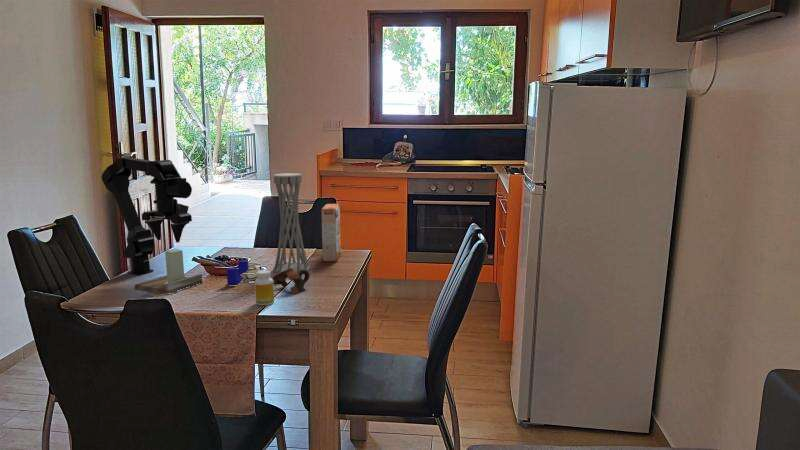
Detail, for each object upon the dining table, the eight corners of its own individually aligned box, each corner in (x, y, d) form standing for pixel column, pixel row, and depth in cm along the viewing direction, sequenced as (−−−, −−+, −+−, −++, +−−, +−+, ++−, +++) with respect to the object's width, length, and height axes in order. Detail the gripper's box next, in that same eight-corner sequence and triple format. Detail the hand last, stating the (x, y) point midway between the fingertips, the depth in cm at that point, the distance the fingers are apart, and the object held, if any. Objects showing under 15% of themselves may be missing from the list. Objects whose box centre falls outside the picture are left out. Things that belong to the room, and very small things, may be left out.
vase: (299, 275, 209) (294, 176, 203) (266, 272, 214) (260, 175, 207) (316, 266, 222) (313, 173, 216) (285, 264, 226) (280, 172, 220)
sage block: (167, 283, 196) (164, 250, 194) (179, 280, 199) (176, 248, 197) (173, 285, 194) (170, 252, 192) (184, 282, 196) (182, 250, 195)
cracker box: (337, 262, 229) (336, 208, 225) (322, 262, 229) (320, 208, 225) (341, 253, 242) (340, 203, 239) (327, 253, 242) (325, 203, 239)
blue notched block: (236, 276, 209) (235, 260, 208) (249, 277, 209) (248, 260, 208) (223, 286, 197) (222, 268, 196) (236, 286, 197) (235, 269, 196)
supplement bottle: (275, 304, 176) (273, 273, 175) (256, 306, 175) (255, 274, 173) (272, 299, 182) (271, 268, 180) (254, 301, 180) (253, 270, 178)
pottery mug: (286, 298, 185) (274, 274, 185) (278, 304, 193) (266, 281, 193) (318, 282, 191) (306, 259, 192) (309, 288, 199) (297, 266, 200)
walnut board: (135, 288, 196) (134, 278, 195) (169, 278, 208) (168, 269, 207) (169, 294, 189) (168, 284, 188) (202, 283, 201) (201, 274, 200)
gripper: (202, 195, 207) (205, 239, 209) (164, 192, 215) (168, 235, 218) (176, 199, 197) (180, 245, 200) (138, 196, 206) (142, 240, 208)
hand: (168, 241), depth 207 cm, fingers open, 9 cm apart
